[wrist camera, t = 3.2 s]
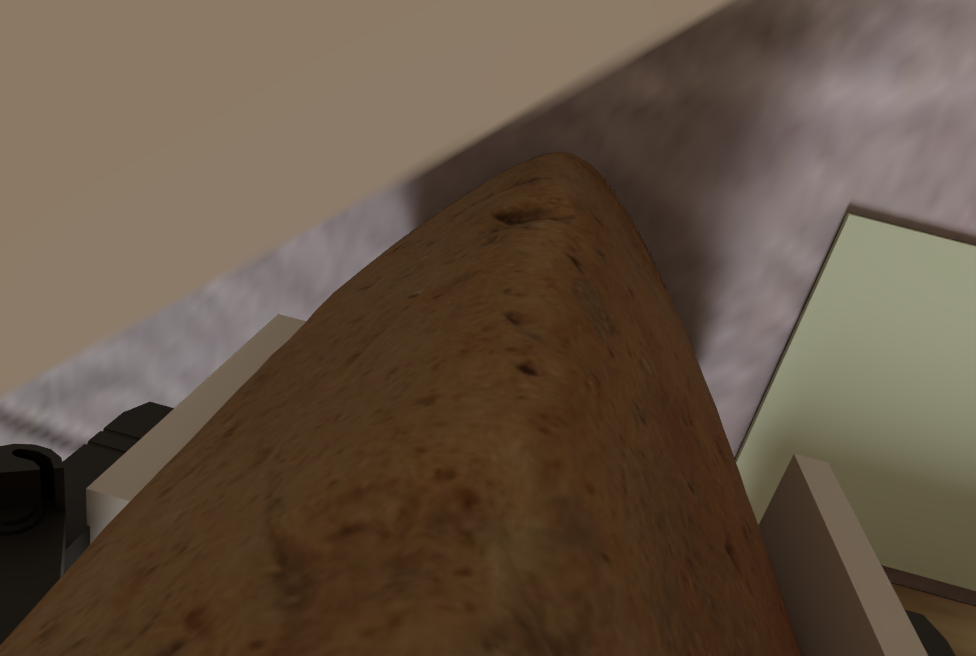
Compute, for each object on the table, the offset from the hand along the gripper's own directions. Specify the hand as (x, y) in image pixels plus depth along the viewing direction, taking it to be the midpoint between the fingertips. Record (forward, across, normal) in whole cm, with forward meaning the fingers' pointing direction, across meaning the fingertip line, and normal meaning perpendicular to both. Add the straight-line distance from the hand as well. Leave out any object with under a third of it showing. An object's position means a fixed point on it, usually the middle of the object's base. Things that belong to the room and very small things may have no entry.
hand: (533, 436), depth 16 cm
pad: (+7, +14, 0) cm, 16 cm away
